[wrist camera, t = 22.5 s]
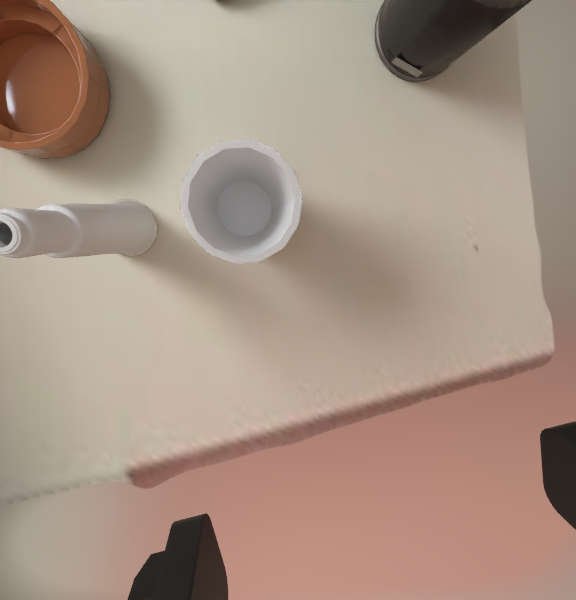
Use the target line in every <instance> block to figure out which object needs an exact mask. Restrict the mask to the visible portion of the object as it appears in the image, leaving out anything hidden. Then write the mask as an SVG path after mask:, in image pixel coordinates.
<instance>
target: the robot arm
mask: <svg viewBox="0 0 576 600" xmlns="http://www.w3.org/2000/svg"><path fill="white" fill-rule="evenodd" d="M530 1H531V0H385V1H384V3H383V4H382V6H381V8H380V10H379V13H378V16H377V19H376V24H375V41H376V46H377V50H378V53H379V55H380V57H381V59H382V61H383V63H384V64H385V65H386V67H387V68H388V69H389V70H390V71H391V72H392V73H394V74H395V75H397V76H398V77H400V78H402V79H405V80H408V81H425V80H429V79H431V78H434V77H435V76H437V75H439V74H440V73H441V72H443V71H444V70H445V69H446V68H448V67H449V65H450V64H451V63H452V62H454V61H455V60H456V59H458V58H459V57H460V56H462V55H463V54H464V53H466V52H467V51H468V50H469V49H471V48H472V47H473V46H474V45H476V44H477V43H478V42H479V41H481V40H482V39H483V38H485V37H486V36H487V35H488V34H490V33H491V32H492V31H493V30H495V29H496V28H497V27H499V26H500V25H501V24H502V23H504V22H505V21H506V20H507V19H509V18H510V17H511V16H512V15H514V14H515V13H516V12H518V11H519V10H520V9H521V8H523V7H524V6H525V5H526V4H528V3H529V2H530ZM540 440H541V441H540V442H541V455H542V456H541V457H542V471H543V484H544V489H545V492H546V494H547V497H548V499H549V501H550V502H551V504H552V506H553V507H554V508H555V510H556V511H557V512H558V513H559V514H560V515H561V516H562V517H563V518H564V519H565V520H566V521H567V522H568V523H569V524H570V525H571V526H572V527H573V528H574V529H576V422H571V423H567V424H563V425H559V426H555V427H551V428H547V429H544V430H543V431H542V432H541V435H540ZM128 600H228V584H227V576H226V571H225V566H224V563H223V559H222V556H221V553H220V549H219V547H218V543H217V540H216V536H215V533H214V529H213V526H212V523H211V520H210V517H209V516H208V514H202V515H199V516H194V517H190V518H187V519H183V520H179V521H175V522H174V523H173V524H172V526H171V529H170V534H169V537H168V541H167V545H166V549H165V551H162V552H158V553H154V554H151V555H150V557H149V558H148V560H147V561H146V563H145V564H144V565H143V567H142V568H141V570H140V571H139V573H138V574H137V576H136V577H135V579H134V582H133V585H132V588H131V591H130V594H129V597H128Z"/></svg>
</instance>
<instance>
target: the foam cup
mask: <svg viewBox="0 0 576 600" xmlns="http://www.w3.org/2000/svg"><path fill="white" fill-rule="evenodd" d="M302 200H303V198H302V195H301V191H300V188H299V184H298V181H297V178H296V174H295V171H294V170H293V169H292V168H291V167H290V166H289V165H288V163H287V162H286V161H285V160H284V159H283V158H282V156H281V155H280V154H279V153H278V152H277V151H276V150H274V149H272V148H270V147H267V146H265V145H263V144H260V143H258V142H256V141H254V140H251V139H242V140H224V141H220V142H219V143H217V144H215V145H214V146H212V147H210V148H209V149H207V150H205V151H204V152H202V153H200V154H199V155H197V157H196V159H195V160H194V162H193V163H192V165H191V167H190V168H189V170H188V171H187V173H186V175H185V176H184V178H183V181H182V192H181V202H180V209H181V212H182V215H183V217H184V220H185V223H186V226H187V229H188V231H189V234H190V235H191V236H192V237H193V238H194V239H195V240H196V241H197V242H198V243H199V244H200V245H201V246H202V247H203V248H204V250H205V251H206V252H207V253H208V254H210V255H213V256H215V257H218V258H221V259H223V260H226V261H229V262H231V263H234V264H238V263H250V262H261V261H263V260H264V259H266V258H268V257H270V256H271V255H273V254H275V253H276V252H278V251H280V250H281V249H283V248H284V247H285V245H286V244H287V242H288V241H289V239H290V238H291V236H292V235H293V233H294V232H295V230H296V229H297V228H298V226H299V219H300V213H301V206H302Z"/></svg>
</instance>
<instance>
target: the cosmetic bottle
mask: <svg viewBox="0 0 576 600" xmlns="http://www.w3.org/2000/svg"><path fill="white" fill-rule="evenodd" d="M156 235H157V225H156V221H155V218H154V216H153V214H152V213H151V212H150V210H149V209H148V208H147V207H146V206H144V205H143V204H141V203H139V202H137V201H134V200H129V199H122V200H117V201H115V202H112V203H107V204H49V205H44V206H42V207H39V208H38V209H20V208H5V209H1V210H0V255H4V256H7V257H11V258H23V257H29V256H36V255H43V254H45V255H47V256H50V257H54V258H66V257H80V256H91V255H100V254H121V255H124V256H136V255H139V254H142V253H144V252H146V251H147V250H148V249H149V248H150V247H151V246H152V245H153V243H154V241H155V239H156Z"/></svg>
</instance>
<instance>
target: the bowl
mask: <svg viewBox="0 0 576 600" xmlns="http://www.w3.org/2000/svg"><path fill="white" fill-rule="evenodd" d="M109 97H110V92H109V87H108V81H107V76H106V71H105V69H104V67H103V65H102V63H101V61H100V59H99V57H98V55H97V53H96V51H95V49H94V48H93V47H92V46H91V45H90V43H89V42H88V41H87V40H86V39H85V38H84V37H83V36H82V35H81V34H80V32H79V31H78V30H77V29H76V28H75V27H74V26H73V25H72V24H71V22H70V21H69V20H68V19H67V18H66V17H65V16H64V15H63V14H62V12H61V11H60V10H59V9H58V8H57V7H56V6H55V5H54V4H53V3H52V2H51V1H50V0H0V148H4V149H7V150H10V151H14V152H17V153H20V154H24V155H29V156H33V157H38V158H42V159H49V158H60V157H66V156H69V155H71V154H73V153H75V152H77V151H80V150H82V149H83V148H85V147H86V146H87V145H88V144H89V143H90V142H91V141H92V140H93V139H94V138H95V137H96V136H97V135H98V134H99V132H100V130H101V128H102V126H103V124H104V122H105V119H106V117H107V113H108V105H109Z"/></svg>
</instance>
